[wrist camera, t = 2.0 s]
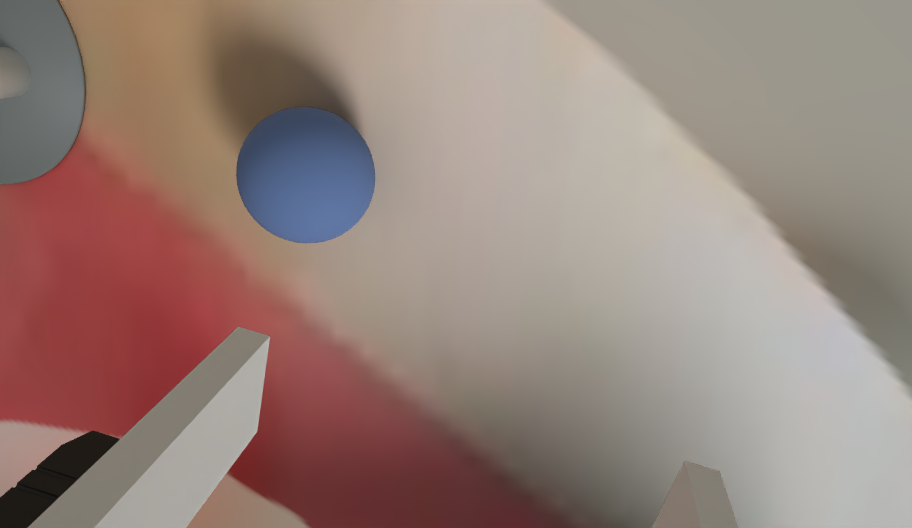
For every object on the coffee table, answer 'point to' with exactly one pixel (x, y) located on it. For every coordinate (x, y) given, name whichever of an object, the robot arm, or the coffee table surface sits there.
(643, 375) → the coffee table surface
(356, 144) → the ball
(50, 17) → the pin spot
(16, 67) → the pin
